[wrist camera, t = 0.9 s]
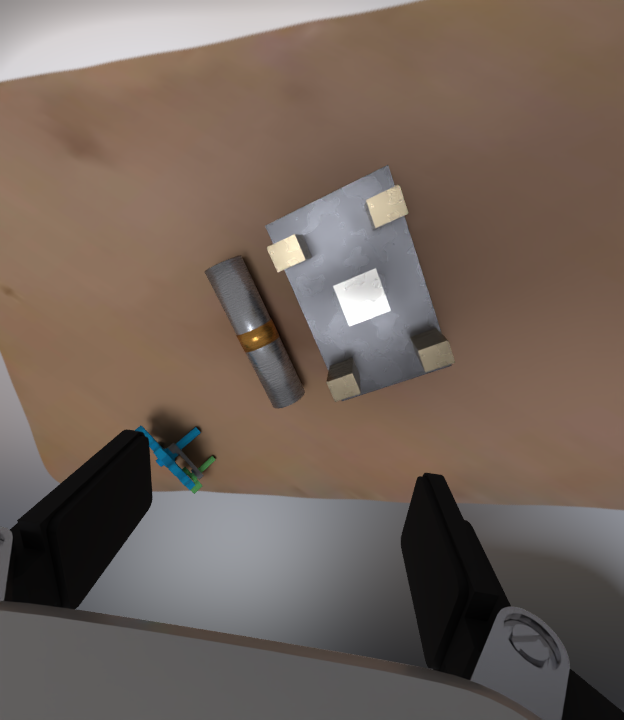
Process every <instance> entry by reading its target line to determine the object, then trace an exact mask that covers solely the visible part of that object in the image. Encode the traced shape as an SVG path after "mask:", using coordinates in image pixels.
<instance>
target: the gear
mask: <svg viewBox="0 0 624 720" xmlns="http://www.w3.org/2000/svg"><path fill="white" fill-rule="evenodd" d="M135 431H140V432H143V433H144V434H145V437H148V439H149V447H150V448H151V449H152V450H153V451H154V452H153V453H154V454H155V455H156V456H157V458H158V459H157V460H156V462H157V463H158V464H159V465H160V466H161V467H162V466H163V465H165V466H166V467H167V468H168V469H169V470H170V471H171V472H172V473H173V474H174V475H175V476H176V477H177V478H178V479H179V480H180V481H181V482H182V483H183V485H185V486H186V487H187V488H188V489H189V490H191V491H192V492H193V493H194V494H195V493H196V492H197V491H198V490H199V489H200V488H201V487H202V485H201V484H200V483H199V481H198V480H197V478H198V479H199V480H200V479H201V478H202V477H203V476H204V475H203V474H202V472H203V471H204V470H205V469H206V468H207V467H208V466H209V465H211V464H212V463H213V462H214V461H215V460H216V459H215V458H214V457H213V456H211V457H210V458H209V459H208V460H207V461H206V462H205V463H203V464H202V465H201V466H200V467H199V468H198V469H197V468H196V467H195V465H194V464H193V463H192V462H191V461H190V460H189V459H188V458H187V456H186V455H185V454H184V453H183V452H182V451H181V449H183V448H184V447H185V446H186V445H187V444H188V443H190V442H191V441H192V440H193V439H194V438H195V437H197V436H198V435H199V434H200V433H201V432H200V431H199V430H198V429H197V428H196V427H195V428H194V429H193V430H191V431H190V432H189V433H188V434H187V435H186V436H184V437H183V438H182V439H181V440H180V441H178V442H177V443H176V444H175V443H174V442H173V443H172V444H171V445H170V446H169V447H167V448H166V449H165V448H164V449H163V448H162V447H161V446H160V445H159V443H157V442H156V440H155V439H154V438H153V437H152V436H151V435H150V434H149V433H148V432H147V431H146V430H145V429H144V428H143V427H142V426H140V427H138V428H137V429H136V430H135ZM179 454H180V455H181V457H182V458H183V459H184V460H185V461H186V462H187V463H188V464H189V465H190V466H191V468H192V470H191V471H192V473H190V472H189V470H188V469H187V468H186V467H184V468H183V469H181V468H180V467H179V466H178V465H177V464H176V462H175V458H176V457H177V456H178V455H179ZM187 475H188V476H189V477H190V478H191V479H192V480H193V481H194V482H195V483H194V482H193V481H192V480H191V479H190V478H189V477H188V476H187Z"/></svg>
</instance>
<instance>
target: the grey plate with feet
mask: <svg viewBox="0 0 624 720" xmlns="http://www.w3.org/2000/svg"><path fill="white" fill-rule="evenodd" d="M406 214H408V211H407V208H406V204H405V201H404V198H403V195H402V192H401V188H400V185H397V186H395V185H394V182H393V179H392V176H391V172H390V169H389V166H388V165H387V166H385V167H383V168H381V169H379V170H377V171H375V172H373V173H371V174H369V175H367V176H365V177H363V178H361V179H359V180H357V181H355V182H353V183H351V184H349V185H347V186H345V187H343V188H341V189H338V190H336V191H334V192H332V193H330V194H328V195H326V196H324V197H322V198H320V199H318V200H316V201H314V202H312V203H310V204H308V205H306V206H304V207H302V208H300V209H298V210H296V211H294V212H292V213H290V214H288V215H286V216H284V217H282V218H280V219H278V220H276V221H274V222H272V223H270V224H268V225H266V229H267V231H268V233H269V236H270V238H271V240H272V242H273V245H271V246H269V247H267V250H268V252H269V254H270V256H271V259H272V261H273V263H274V265H275V268H276V270H277V272H280V271H282V270H285V272H286V274H287V277H288V279H289V281H290V284H291V286H292V288H293V291H294V293H295V295H296V297H297V300H298V302H299V304H300V307H301V309H302V311H303V313H304V316H305V318H306V320H307V323H308V325H309V327H310V329H311V332H312V334H313V336H314V339H315V341H316V343H317V345H318V348H319V350H320V352H321V355H322V357H323V359H324V361H325V364H326V366H327V368H328V371H329V372H328V377H327V382H326V383H327V385H328V387H329V389H330V392H331V394H332V396H333V398H334V401H335V402H336V401H339V400H342V401H344V400H347V399H350V398H353V397H356V396H360V395H363V394H366V393H369V392H372V391H375V390H378V389H381V388H384V387H387V386H390V385H393V384H396V383H399V382H403V381H406V380H409V379H412V378H415V377H418V376H421V375H424V374H427V373H430V372H433V371H436V370H439V369H442V368H446V367H449V366H452V365H451V364H453V363H455V361H454V358H453V354H452V351H451V348H450V345H449V342H448V340H447V339H446V338H445V337H444V336H443V335H442V333H441V330H440V327H439V324H438V321H437V317H436V314H435V311H434V308H433V305H432V302H431V299H430V295H429V292H428V289H427V286H426V283H425V280H424V277H423V273H422V270H421V267H420V264H419V261H418V258H417V254H416V251H415V248H414V245H413V242H412V239H411V236H410V232H409V229H408V226H407V223H406V220H405V217H404V215H406Z"/></svg>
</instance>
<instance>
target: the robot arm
mask: <svg viewBox="0 0 624 720" xmlns="http://www.w3.org/2000/svg"><path fill="white" fill-rule="evenodd" d="M151 503H152V483H151V466H150V450H149V439H148V437H145V434H144V433H143V432H140V431H134V430H124V431H122V432H121V433H120V434H119V435H117V436H116V437H115V438H114V439H113V440H111V441H110V442H109V443H108V444H107V445H106V446H104V447H103V448H102V449H101V450H100V451H99V452H97V453H96V454H95V455H94V456H93V457H91V458H90V459H89V460H88V461H87V462H86V463H84V464H83V465H82V466H81V467H80V468H79V469H77V470H76V471H75V472H74V473H73V474H71V475H70V476H69V477H68V478H67V479H66V480H64V481H63V482H62V483H61V484H60V485H59V486H57V487H56V488H55V489H54V490H53V491H51V492H50V493H49V494H48V495H47V496H46V497H44V498H43V499H42V500H41V501H40V502H38V503H37V504H36V505H35V506H34V507H33V508H31V509H30V510H29V511H28V512H27V513H26V514H24V515H23V516H22V517H21V518H20V519H18V520H17V521H18V523H17V524H16V525H15V526H14V527H12V528H11V529H10V530H9V529H7V528H4V527H0V720H624V712H622V711H621V710H620V709H619V708H617V707H616V706H615V705H614V704H613V703H611V702H610V701H609V700H608V699H607V698H605V697H604V696H603V695H602V694H600V693H599V692H598V691H597V690H596V689H594V688H593V687H592V686H591V685H589V684H588V683H587V682H586V681H585V680H583V679H582V678H581V677H580V676H579V675H577V674H576V673H575V672H574V671H572V670H571V669H570V665H569V657H568V654H567V652H566V649H565V647H564V645H563V644H562V642H561V641H560V639H559V638H558V636H557V635H556V634H555V633H554V632H553V631H552V629H551V628H550V627H549V626H548V625H547V624H546V623H544V622H543V621H542V620H541V619H540V618H538V617H537V616H535V615H534V614H532V613H530V612H529V611H527V610H524V609H521V608H518V607H511V605H510V603H509V601H508V599H507V597H506V595H505V593H504V591H503V589H502V587H501V585H500V583H499V581H498V579H497V577H496V574H495V572H494V571H493V568H492V566H491V564H490V562H489V560H488V558H487V556H486V554H485V552H484V550H483V548H482V546H481V544H480V541H479V539H478V538H477V536H476V533H475V531H474V529H473V527H472V526H471V524H470V523H469V522H468V521H466V520H464V519H463V517H462V515H461V513H460V511H459V508H458V506H457V504H456V502H455V500H454V497H453V495H452V493H451V491H450V489H449V487H448V485H447V482H446V480H445V478H444V477H443V476H442V475H438V474H431V473H424V474H423V477H421V476H419V477H418V478H417V481H416V484H415V488H414V492H413V495H412V499H411V503H410V506H409V510H408V513H407V517H406V521H405V524H404V528H403V532H402V536H401V548H402V554H403V558H404V563H405V568H406V572H407V577H408V581H409V586H410V591H411V596H412V600H413V605H414V609H415V614H416V618H417V624H418V628H419V633H420V638H421V642H422V647H423V652H424V656H425V661H426V664H427V666H428V668H432V669H433V670H431V669H427V668H422V667H417V666H412V665H407V664H401V663H396V662H391V661H385V660H380V659H375V658H370V657H364V656H358V655H352V654H346V653H341V652H335V651H328V650H323V649H317V648H311V647H305V646H300V645H294V644H287V643H282V642H276V641H270V640H264V639H258V638H252V637H246V636H239V635H233V634H227V633H221V632H215V631H208V630H203V629H196V628H190V627H184V626H178V625H172V624H165V623H159V622H153V621H146V620H140V619H134V618H127V617H120V616H114V615H108V614H102V613H95V612H89V611H82V610H75V609H76V608H77V607H78V606H79V605H80V604H81V602H82V601H83V600H84V598H85V597H86V595H87V594H88V592H89V591H90V590H91V588H92V587H93V586H94V584H95V583H96V582H97V580H98V579H99V577H100V576H101V575H102V573H103V572H104V570H105V569H106V568H107V566H108V565H109V564H110V562H111V561H112V559H113V558H114V557H115V555H116V554H117V552H118V551H119V550H120V548H121V547H122V546H123V544H124V543H125V542H126V540H127V539H128V537H129V536H130V534H131V533H132V532H133V530H134V529H135V528H136V526H137V525H138V523H139V522H140V521H141V519H142V518H143V517H144V515H145V514H146V512H147V511H148V510H149V508H150V506H151Z"/></svg>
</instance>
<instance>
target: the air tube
mask: <svg viewBox="0 0 624 720" xmlns="http://www.w3.org/2000/svg"><path fill="white" fill-rule="evenodd" d="M205 274H206V276H207V278H208V280H209V282H210V284H211V285H212V287H213V289H214V291H215V293H216V295H217V297H218V299H219V301H220V303H221V305H222V307H223V309H224V311H225V313H226V315H227V317H228V319H229V321H230V323H231V325H232V327H233V329H234V331H235V333H236V336H237V338H238V340H239V342H240V344H241V345H242V347H243V349H244V351H245V352H246V354H247V356H248V358H249V360H250V362H251V364H252V366H253V368H254V370H255V372H256V374H257V376H258V378H259V380H260V382H261V384H262V386H263V388H264V390H265V392H266V394H267V396H268V398H269V399H270V401H271V403H272V405H273V407H274V408H283V407H286V406H289V405H291V404H293V403H295V402H296V401H298V400H299V399H300V398H301V397H302V396H303V395H304V394H305V390H304V388H303V386H302V384H301V382H300V380H299V378H298V375H297V373H296V371H295V369H294V367H293V365H292V363H291V360H290V358H289V356H288V354H287V352H286V350H285V348H284V346H283V343H282V341H281V339H280V337H279V334H278V332H277V330H276V327H275V325H274V323H273V321H272V319H271V318H270V316H269V314H268V312H267V309H266V307H265V305H264V303H263V301H262V299H261V297H260V294H259V292H258V290H257V288H256V286H255V284H254V282H253V280H252V277H251V275H250V273H249V271H248V269H247V267H246V265H245V263H244V260H243V258H242V256H237V257H234V258H231V259H228V260H226V261H223V262H221V263H219V264H217V265H215V266H213V267H211V268H209V269H207V270H206V271H205Z"/></svg>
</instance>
